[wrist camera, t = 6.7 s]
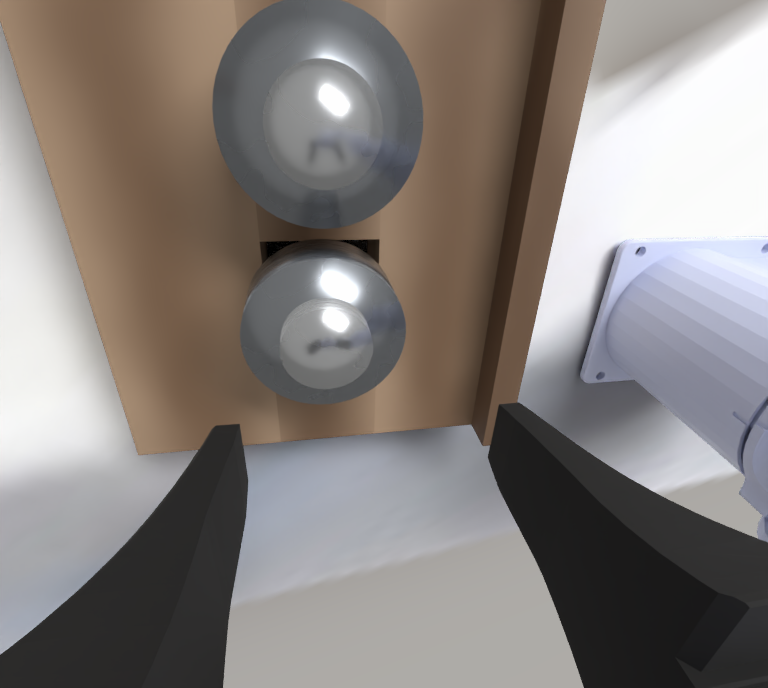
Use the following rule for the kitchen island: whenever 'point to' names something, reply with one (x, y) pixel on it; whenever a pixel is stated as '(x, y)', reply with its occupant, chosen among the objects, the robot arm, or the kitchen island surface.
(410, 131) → the seated shaft
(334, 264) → the stepped metal shaft
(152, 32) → the block
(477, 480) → the kitchen island surface
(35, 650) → the robot arm
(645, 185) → the kitchen island surface
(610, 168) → the kitchen island surface
